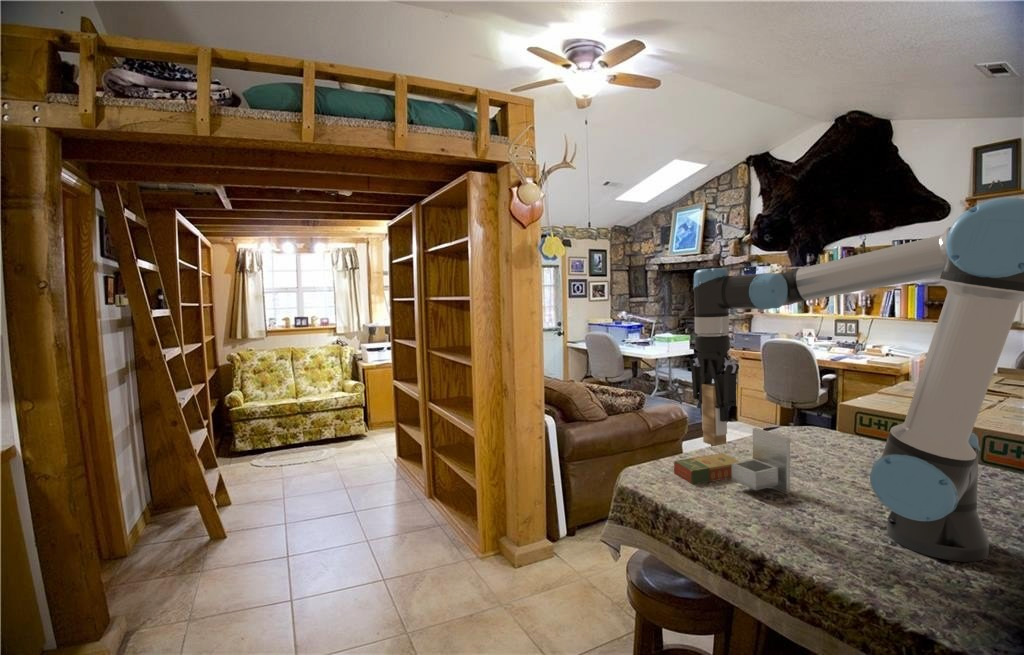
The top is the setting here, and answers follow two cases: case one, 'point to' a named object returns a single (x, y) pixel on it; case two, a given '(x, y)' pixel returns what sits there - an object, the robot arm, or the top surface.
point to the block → (710, 416)
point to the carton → (705, 468)
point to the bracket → (765, 463)
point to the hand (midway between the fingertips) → (714, 431)
